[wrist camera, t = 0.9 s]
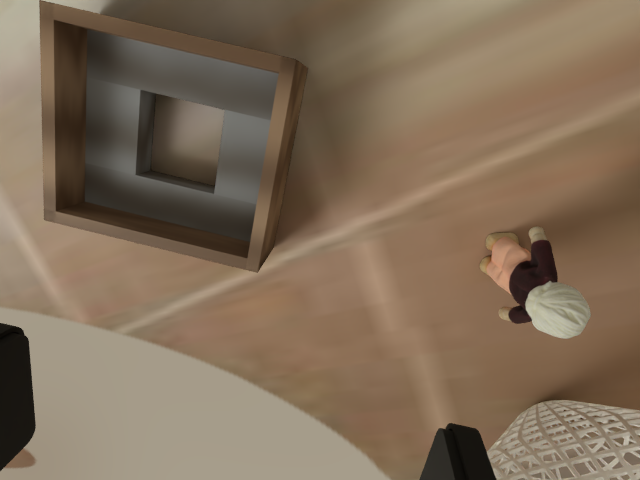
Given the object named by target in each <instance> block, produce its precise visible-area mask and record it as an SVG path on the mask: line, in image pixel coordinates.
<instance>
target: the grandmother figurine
mask: <svg viewBox="0 0 640 480" xmlns="http://www.w3.org/2000/svg"><path fill="white" fill-rule="evenodd" d="M529 237H530V238H531V244H532V245H531V253H530V252H529V251H528V250H527V249H525V248H521V247H520V246H519V245H518V244H519V241H518V237H517V236H516V235H515V234H513V233H493V234H490V235H489V236H488V237H487V239H486V247H487V248H488V249H489V250H491V251H492V256H487V257H485V258H483V260H482V261H481V263H480V269H481V270H482V271H483V272H484V273H486V274H488V275H489V276H490V277H491V278H492V279H493V280H494V281H495V282H496V283H497V284H498V285H499V286H500V287H502V288H503V289H505V290H506V291H507V292H508V293H510V294H511V295H512V296H513V297H514V299H515V300H516V302H517V303H519V304H520V306H517V307H513V308H509V307H502V308H501V309H500V310H499V316H500V317H501V318H502V319H504V320H509V321H512V322H514V323H516V324H519V323H525V322H530V321H532V323H533V325H534V326H535V327H536V328H537V329H538V330H540V331H542V332H545V333H547V334H550V335H553V336H555V337H559V338H567V339H568V338H572V337H573V336H577V335H579V334H580V333H581V332H582V331H583V329H584V328H585V326H586V324H587V322H588V320H589V318H590V316H591V313H590V308H589V306H588V304H587V302H586V300H585V299H584V298H583V296H582V294H581V293H580V292H579V291H578V290H577V289H575V288H573V287H571V286H568V285H565V284H562V283H559V282H557V271H556V267H555V262H554V258H553V254H552V248H551V245H550V243H549V241H548V240H547V238H546V236H545V231H544V229H543V228H541V227H533V228H531V229H530V231H529Z"/></svg>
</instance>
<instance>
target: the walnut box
mask: <svg viewBox="0 0 640 480" xmlns="http://www.w3.org/2000/svg"><path fill="white" fill-rule="evenodd" d="M39 2H40V49H41V96H42V143H43V190H44V220H46V221H50V222H54V223H58V224H62V225H66V226H70V227H74V228H78V229H82V230H86V231H90V232H95V233H99V234H103V235H107V236H111V237H115V238H119V239H123V240H127V241H131V242H135V243H139V244H143V245H147V246H151V247H155V248H159V249H163V250H168V251H172V252H176V253H180V254H184V255H188V256H192V257H196V258H200V259H204V260H208V261H212V262H216V263H220V264H224V265H228V266H232V267H236V268H241V269H245V270H249V271H253V272H257V273H258V271H259V270H260V268H261V266H262V265H263V263H264V262H265V260H266V259H267V257H268V255H269V254H270V252H271V251H272V249H273V248H274V243H275V237H276V232H277V227H278V222H279V216H280V211H281V206H282V201H283V196H284V190H285V185H286V180H287V175H288V170H289V164H290V159H291V154H292V149H293V143H294V138H295V133H296V128H297V123H298V117H299V112H300V107H301V102H302V97H303V91H304V86H305V81H306V76H307V70H308V68H307V67H306V66H305V65H303V64H302V63H300V62H299V61H298V60H296V59H292V58H288V57H284V56H279V55H275V54H271V53H266V52H262V51H258V50H253V49H249V48H245V47H240V46H236V45H232V44H227V43H223V42H219V41H214V40H210V39H206V38H201V37H197V36H193V35H188V34H184V33H180V32H175V31H171V30H167V29H163V28H158V27H154V26H150V25H145V24H141V23H137V22H132V21H128V20H124V19H119V18H115V17H111V16H106V15H102V14H98V13H93V12H89V11H85V10H80V9H76V8H72V7H67V6H63V5H59V4H54V3H50V2H46V1H41V0H39ZM156 94H161V95H165V96H169V97H173V98H178V99H182V100H186V101H190V102H195V103H199V104H203V105H207V106H211V107H216V108H220V109H224V110H225V114H224V121H223V129H222V137H221V145H220V152H219V160H218V168H217V175H216V183H215V186H212V185H208V184H204V183H199V182H195V181H191V180H187V179H183V178H179V177H174V176H170V175H166V174H162V173H158V172H154V171H150V167H151V153H152V140H153V126H154V112H155V98H156Z"/></svg>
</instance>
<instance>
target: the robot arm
mask: <svg viewBox="0 0 640 480" xmlns="http://www.w3.org/2000/svg"><path fill="white" fill-rule="evenodd" d="M34 431H35V413H34V401H33V389H32V376H31V364H30V352H29V341H28V338H27V337H26V336H25V335H24V332H23V330H22V329H21V328H19V327H16V326H11V325H7V324H2V323H0V471H1V470H2V469H3V468H4V467H5V466H6V465H7V464H8V463H9V462H10V461H11V460H12V459H13V458H14V457H15V456H16V455H17V454H18V453H19V452H20V451H21V450H22V449H23V448H24V447H25V446H26V445H27V444H28V442H29V441H30V439H31V438H32V436H33V434H34ZM420 480H496V477H495V474H494V472H493V469H492V466H491V463H490V460H489V458H488V455H487V452H486V449H485V446H484V444H483V441H482V438H481V435H480V433H479V431H478V430H477V429H475V428H470V427H466V426H461V425H457V424H452V423H449V424H448V425H447V427H446V429H442V428H439V429H438V431H437V433H436V436H435V438H434V441H433V444H432V447H431V450H430V452H429V455H428V458H427V461H426V463H425V466H424V469H423V472H422V474H421V477H420Z"/></svg>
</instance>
